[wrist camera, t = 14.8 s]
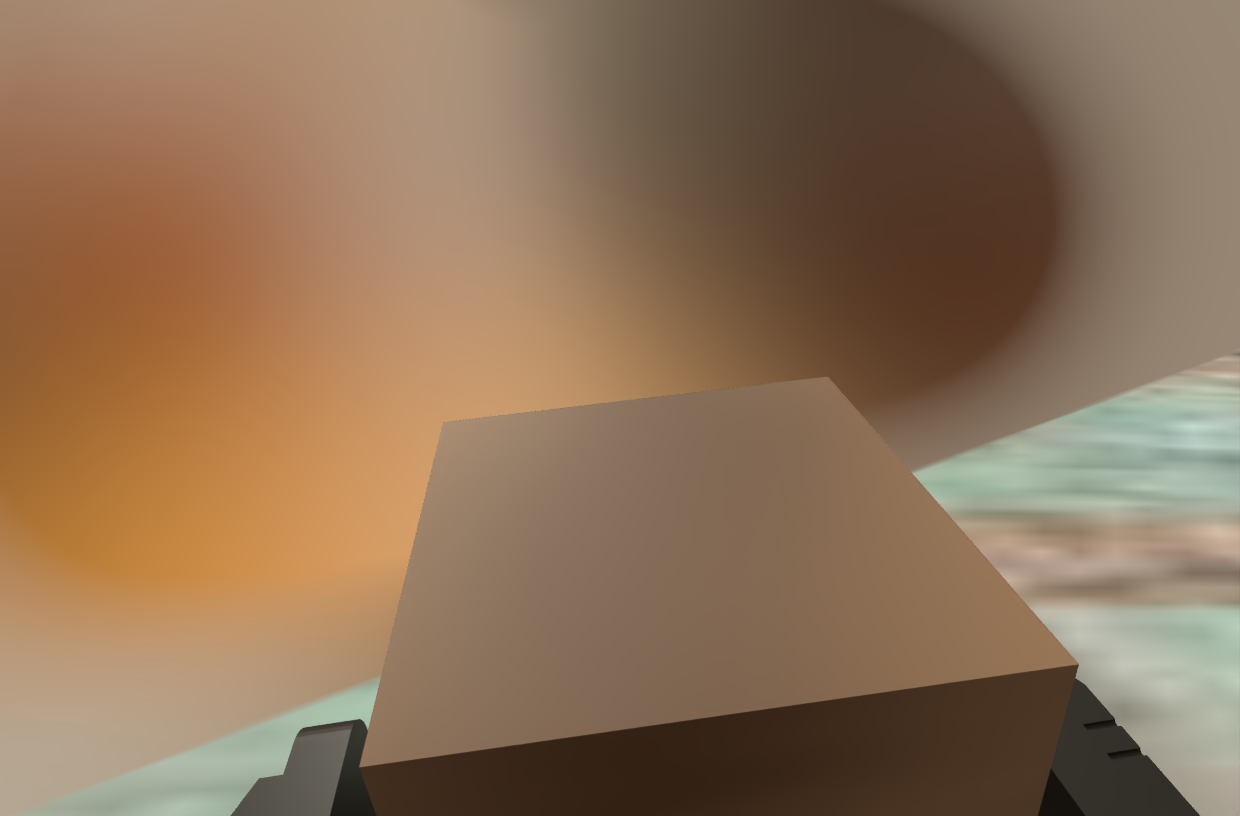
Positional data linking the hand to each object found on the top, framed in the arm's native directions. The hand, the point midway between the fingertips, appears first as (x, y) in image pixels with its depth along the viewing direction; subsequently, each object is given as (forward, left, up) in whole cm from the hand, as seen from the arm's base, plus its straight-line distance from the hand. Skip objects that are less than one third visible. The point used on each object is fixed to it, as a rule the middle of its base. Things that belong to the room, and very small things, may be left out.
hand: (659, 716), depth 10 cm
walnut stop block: (0, +2, -9) cm, 9 cm away
